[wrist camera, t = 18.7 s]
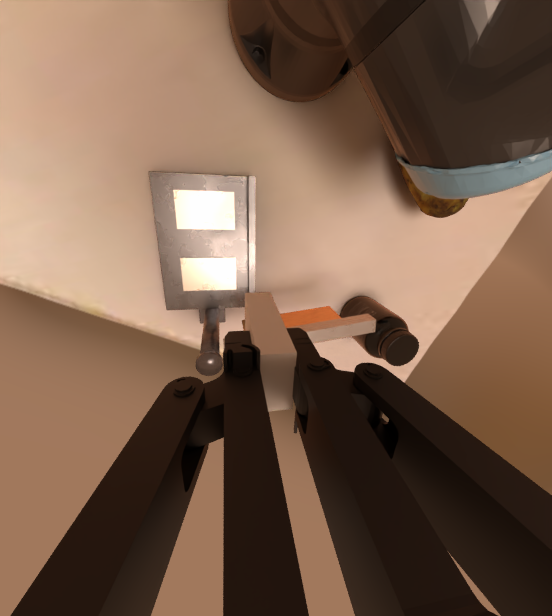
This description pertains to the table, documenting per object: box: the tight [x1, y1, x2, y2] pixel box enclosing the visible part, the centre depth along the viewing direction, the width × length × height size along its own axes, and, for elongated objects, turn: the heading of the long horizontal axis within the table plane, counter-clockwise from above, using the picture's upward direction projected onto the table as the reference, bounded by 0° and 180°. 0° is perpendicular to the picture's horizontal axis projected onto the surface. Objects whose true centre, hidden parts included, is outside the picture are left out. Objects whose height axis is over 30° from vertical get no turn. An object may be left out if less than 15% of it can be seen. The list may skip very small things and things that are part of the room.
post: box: [196, 308, 225, 376], centre depth 33 cm, size 4×4×15 cm
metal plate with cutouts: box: [149, 172, 256, 310], centre depth 35 cm, size 17×12×3 cm
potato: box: [393, 148, 469, 218], centre depth 34 cm, size 8×13×8 cm, turn 14°
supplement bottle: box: [341, 296, 419, 366], centre depth 40 cm, size 7×7×12 cm
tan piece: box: [223, 306, 376, 350], centre depth 33 cm, size 18×2×7 cm, turn 95°
